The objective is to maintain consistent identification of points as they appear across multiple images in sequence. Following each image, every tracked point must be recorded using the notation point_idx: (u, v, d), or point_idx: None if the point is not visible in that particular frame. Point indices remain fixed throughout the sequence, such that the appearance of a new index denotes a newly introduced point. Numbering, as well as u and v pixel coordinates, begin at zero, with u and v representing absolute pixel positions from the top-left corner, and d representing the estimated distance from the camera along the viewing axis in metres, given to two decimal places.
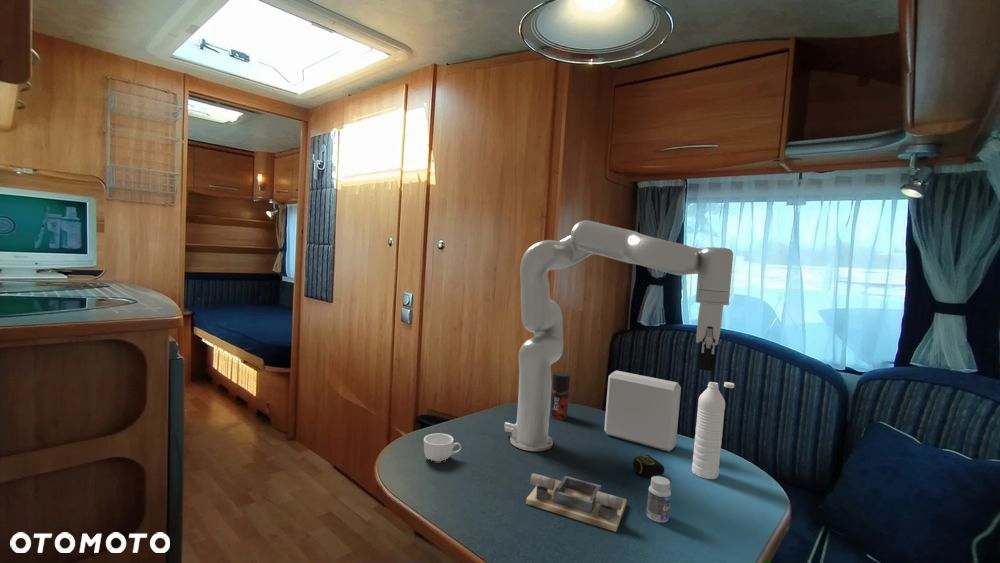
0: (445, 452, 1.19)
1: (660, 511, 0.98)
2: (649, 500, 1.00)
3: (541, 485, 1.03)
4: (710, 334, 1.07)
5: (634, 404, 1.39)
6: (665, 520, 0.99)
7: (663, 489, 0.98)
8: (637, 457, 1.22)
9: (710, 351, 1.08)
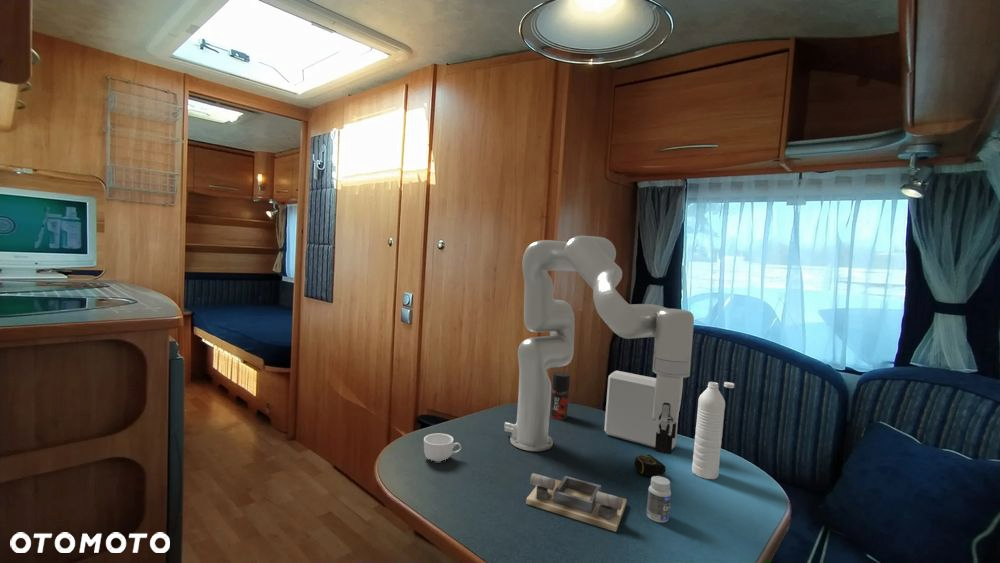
0: (445, 452, 1.19)
1: (660, 511, 0.98)
2: (649, 500, 1.00)
3: (541, 485, 1.03)
4: (666, 413, 0.92)
5: (634, 404, 1.39)
6: (665, 520, 0.99)
7: (662, 489, 0.98)
8: (638, 457, 1.22)
9: (666, 432, 0.93)
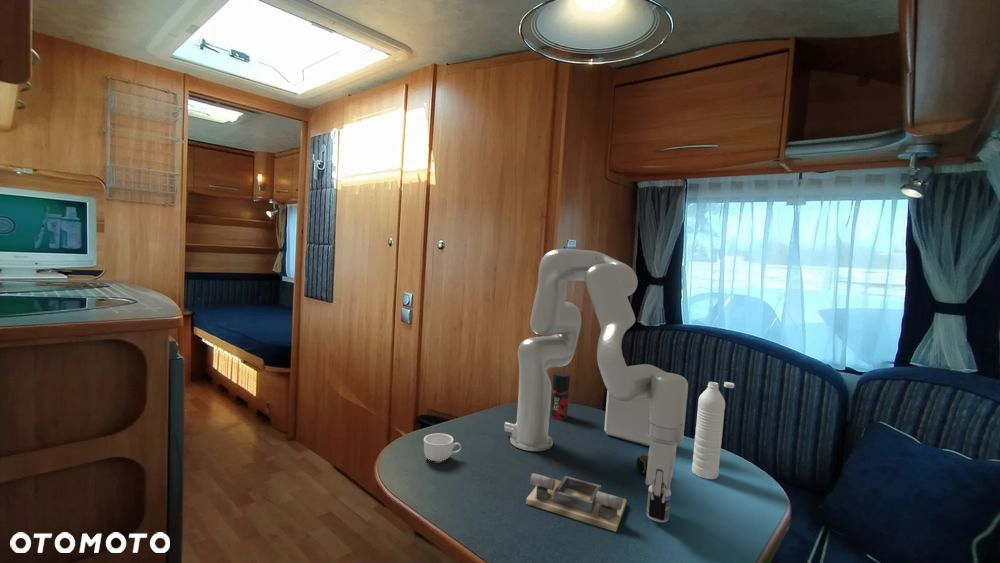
0: (445, 452, 1.19)
1: None
2: (649, 500, 1.00)
3: (541, 485, 1.03)
4: (659, 487, 0.94)
5: (634, 404, 1.39)
6: (665, 520, 0.99)
7: None
8: (640, 457, 1.22)
9: (660, 500, 0.96)
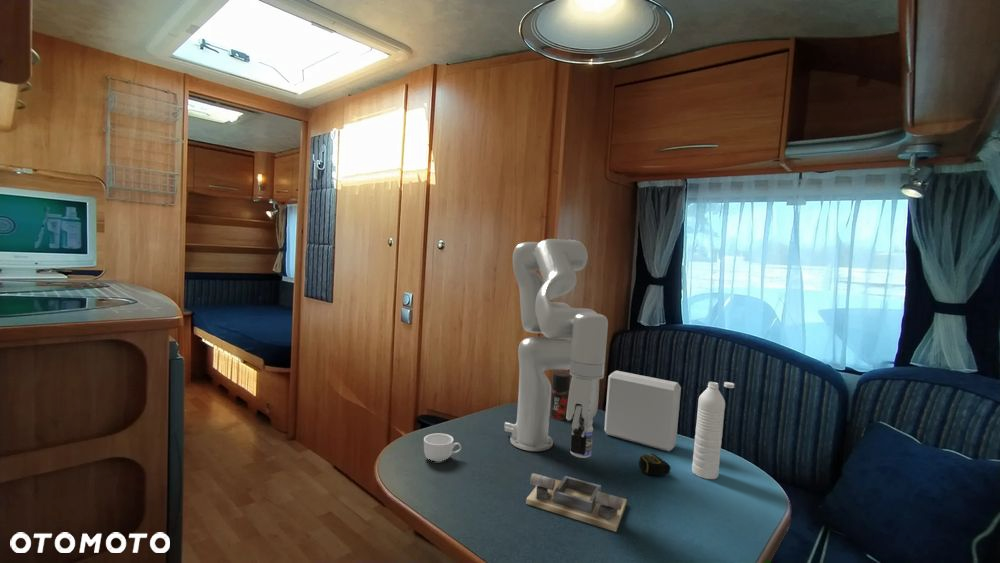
0: (445, 452, 1.19)
1: None
2: None
3: (541, 485, 1.03)
4: (576, 420, 0.96)
5: (634, 404, 1.39)
6: (587, 455, 1.01)
7: None
8: (643, 456, 1.23)
9: (579, 434, 0.98)
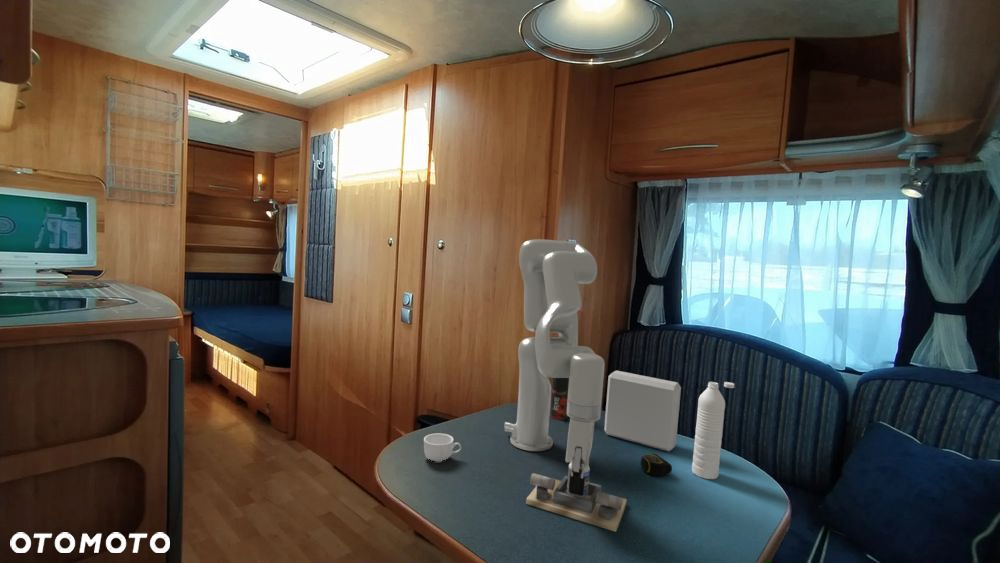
0: (445, 452, 1.19)
1: None
2: (569, 477, 1.03)
3: (541, 485, 1.03)
4: (577, 463, 0.97)
5: (634, 404, 1.39)
6: (584, 495, 1.02)
7: None
8: (645, 456, 1.23)
9: (579, 476, 0.99)
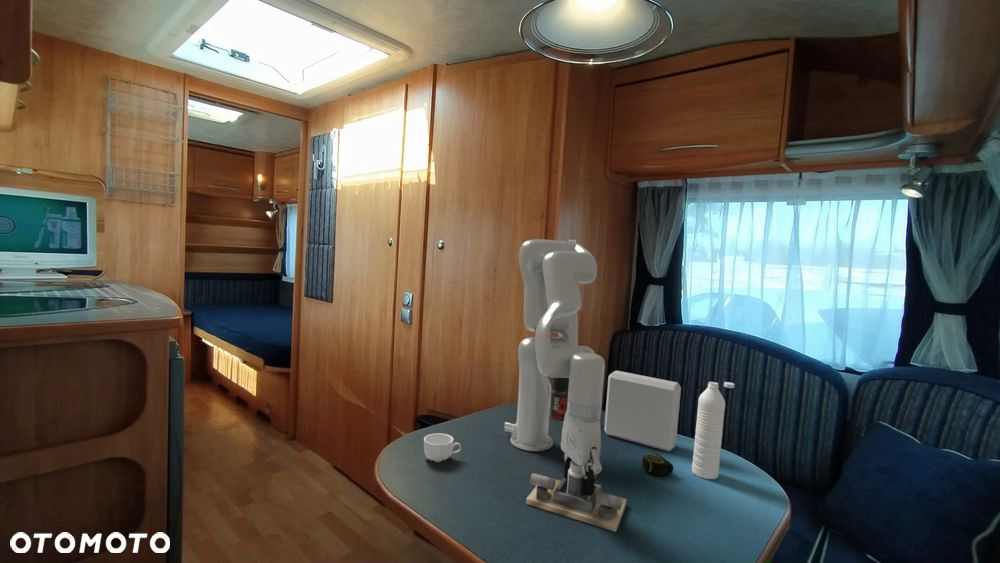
0: (445, 452, 1.19)
1: None
2: (574, 485, 1.02)
3: (541, 485, 1.03)
4: (598, 462, 0.97)
5: (634, 404, 1.39)
6: None
7: None
8: (646, 456, 1.23)
9: (594, 476, 0.98)
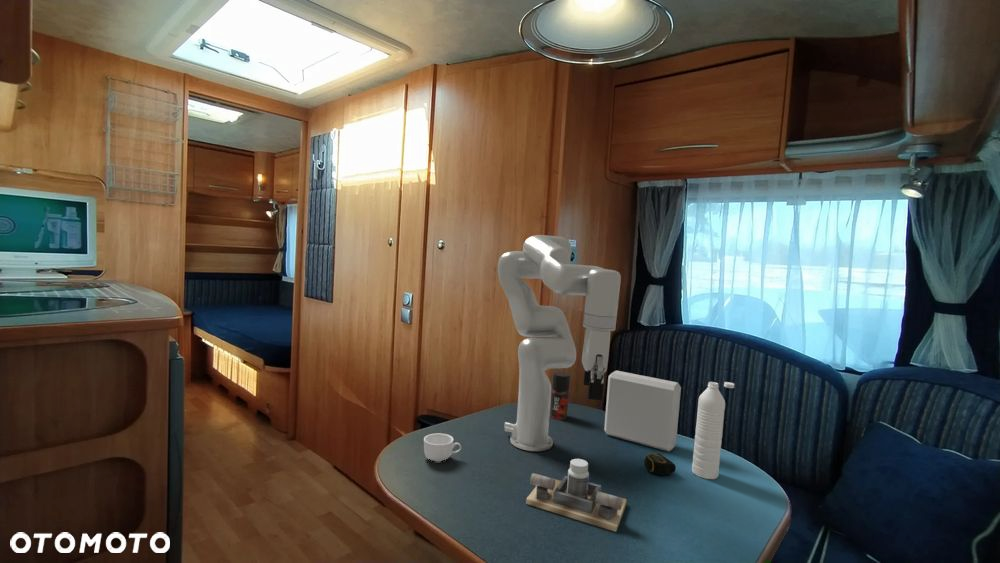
0: (445, 452, 1.19)
1: (585, 492, 1.02)
2: (574, 485, 1.02)
3: (541, 485, 1.03)
4: (601, 364, 1.01)
5: (634, 404, 1.39)
6: None
7: (586, 470, 1.02)
8: (648, 456, 1.23)
9: (600, 381, 1.02)
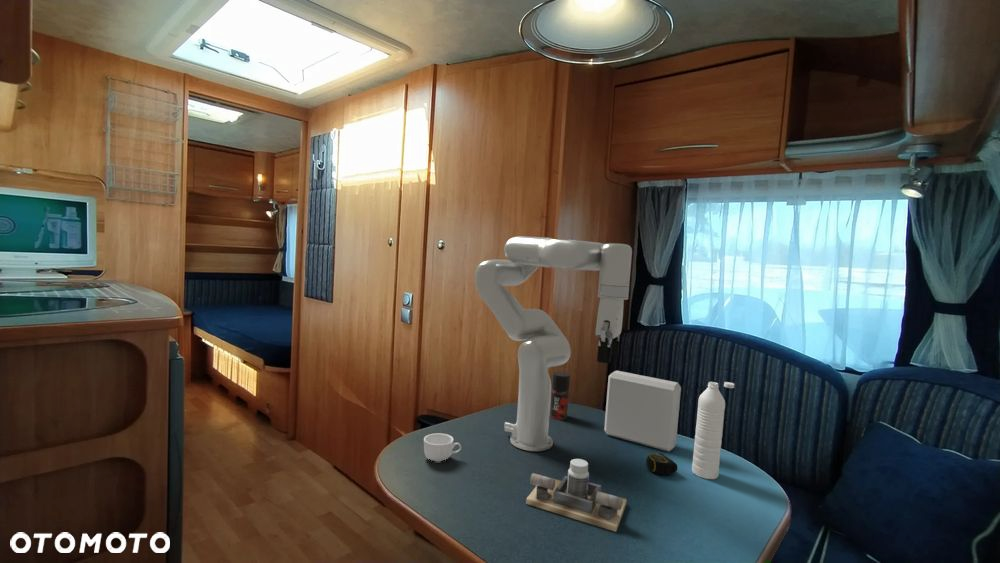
0: (445, 452, 1.19)
1: (585, 492, 1.02)
2: (574, 485, 1.02)
3: (541, 485, 1.03)
4: (605, 327, 1.10)
5: (634, 404, 1.39)
6: None
7: (586, 470, 1.02)
8: (650, 455, 1.24)
9: (605, 344, 1.11)
